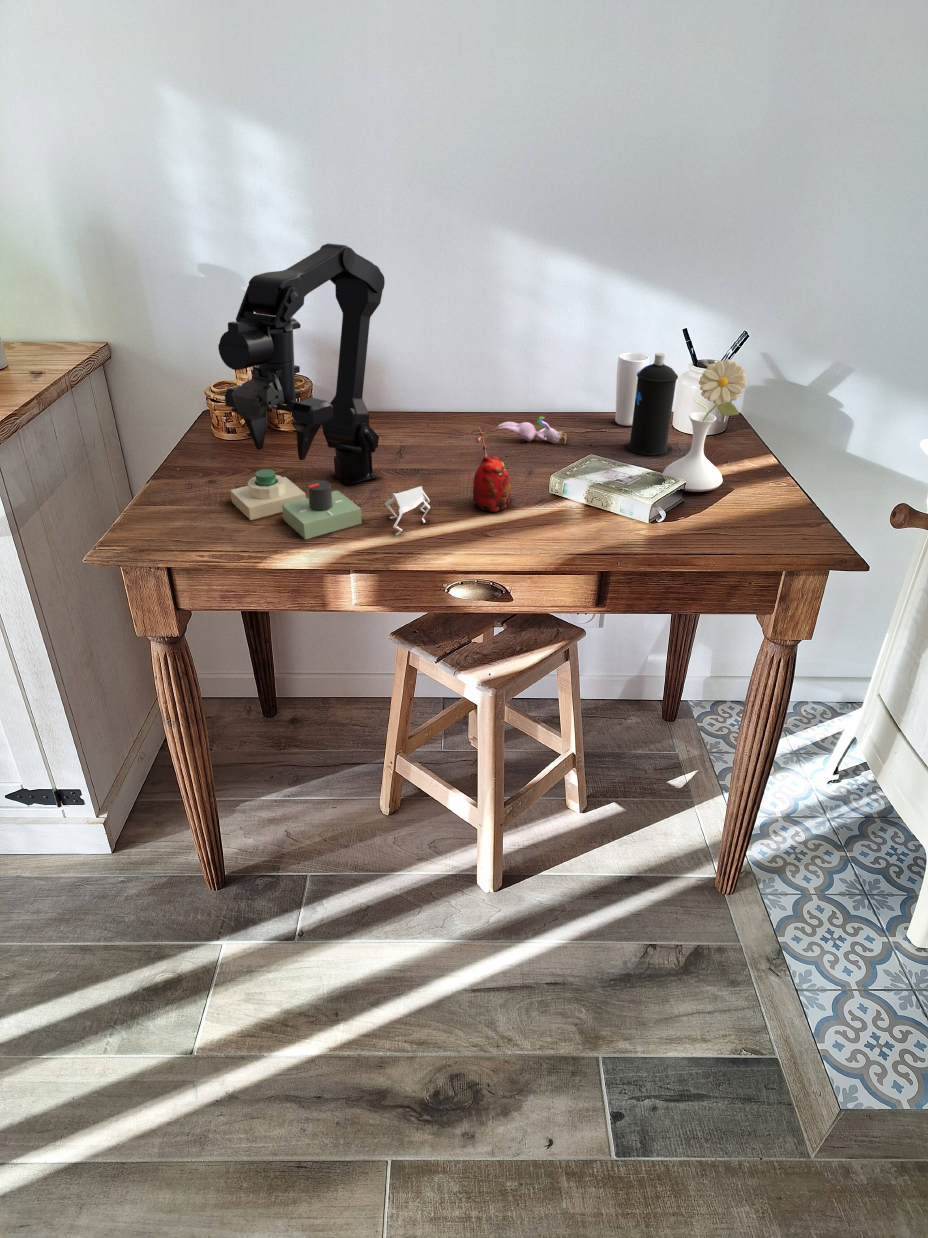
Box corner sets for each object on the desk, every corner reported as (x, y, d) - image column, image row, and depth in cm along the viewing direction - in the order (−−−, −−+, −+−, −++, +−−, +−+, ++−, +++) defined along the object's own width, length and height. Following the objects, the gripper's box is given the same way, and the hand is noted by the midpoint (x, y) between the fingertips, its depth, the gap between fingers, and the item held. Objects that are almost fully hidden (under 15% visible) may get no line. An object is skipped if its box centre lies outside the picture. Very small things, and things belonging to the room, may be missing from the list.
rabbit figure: (563, 442, 187) (496, 429, 186) (570, 416, 184) (502, 403, 183) (564, 453, 182) (495, 440, 181) (570, 427, 178) (500, 413, 178)
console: (338, 505, 157) (337, 489, 155) (361, 523, 151) (360, 507, 149) (283, 519, 152) (281, 503, 150) (305, 539, 145) (303, 523, 144)
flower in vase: (649, 485, 165) (667, 356, 151) (680, 468, 172) (700, 343, 158) (710, 505, 158) (734, 371, 144) (739, 487, 165) (765, 357, 151)
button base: (286, 488, 163) (284, 466, 160) (306, 505, 157) (304, 483, 154) (231, 502, 158) (228, 479, 155) (250, 520, 151) (247, 497, 149)
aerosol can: (673, 446, 182) (687, 352, 171) (658, 459, 176) (672, 362, 165) (637, 438, 185) (648, 346, 174) (622, 450, 180) (632, 355, 169)
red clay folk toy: (503, 516, 153) (506, 437, 145) (466, 511, 155) (467, 432, 147) (514, 499, 159) (517, 422, 151) (478, 494, 161) (479, 417, 153)
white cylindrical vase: (611, 426, 191) (618, 360, 183) (611, 416, 197) (618, 351, 189) (641, 428, 190) (650, 361, 182) (641, 418, 196) (649, 352, 188)
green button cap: (271, 477, 157) (270, 467, 156) (279, 484, 154) (278, 474, 153) (253, 482, 155) (251, 471, 154) (261, 489, 153) (259, 478, 152)
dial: (326, 499, 152) (324, 477, 149) (336, 507, 149) (334, 484, 147) (305, 504, 150) (303, 482, 148) (315, 513, 147) (313, 490, 145)
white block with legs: (387, 508, 156) (385, 483, 153) (432, 509, 155) (432, 484, 153) (378, 539, 146) (377, 513, 143) (427, 540, 145) (426, 514, 143)
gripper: (196, 358, 134) (205, 454, 141) (288, 376, 126) (292, 477, 134) (245, 349, 143) (251, 440, 150) (334, 365, 135) (335, 461, 142)
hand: (280, 454), depth 144 cm, fingers open, 9 cm apart
